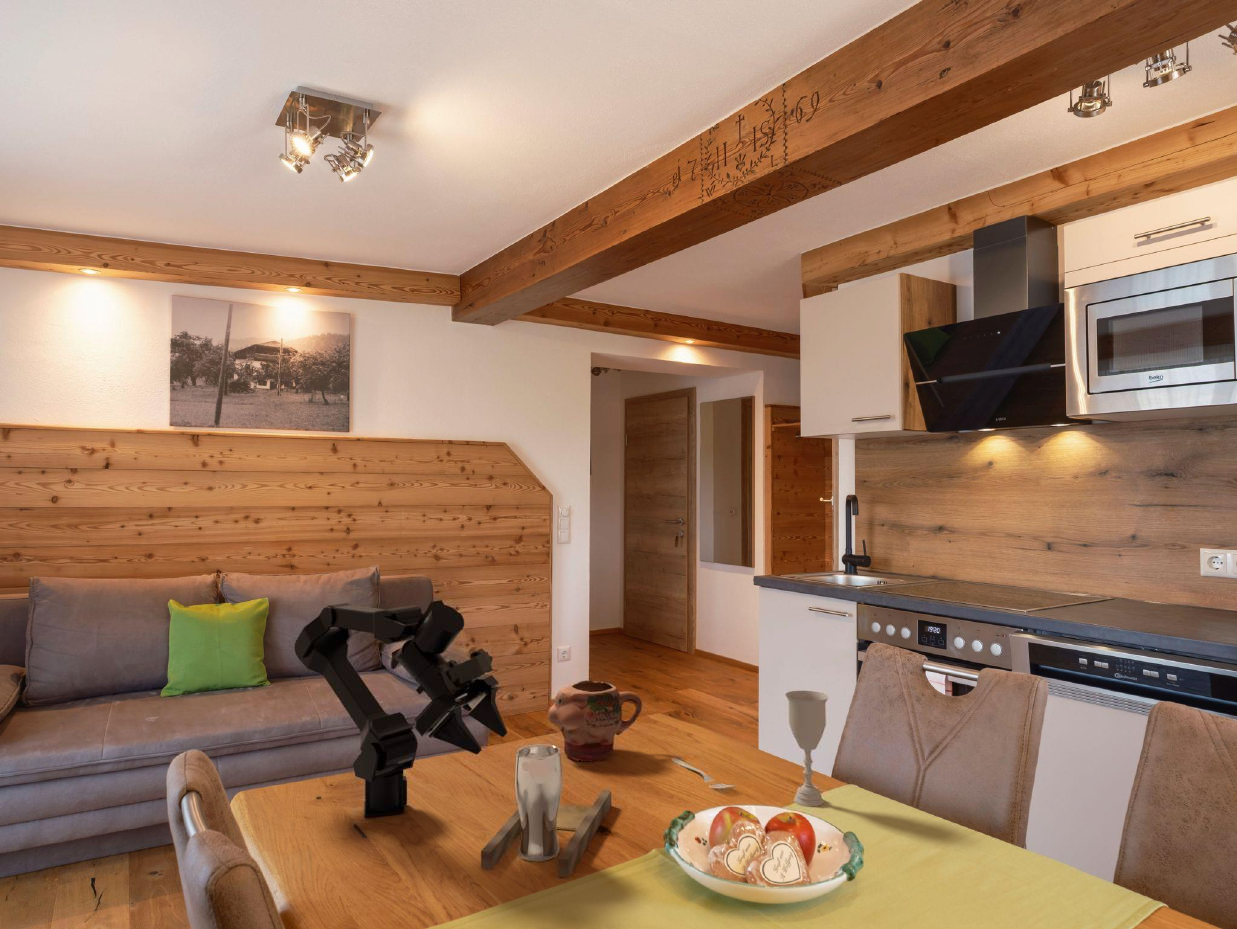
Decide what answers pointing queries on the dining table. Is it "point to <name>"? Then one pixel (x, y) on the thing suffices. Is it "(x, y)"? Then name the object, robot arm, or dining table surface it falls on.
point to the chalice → (807, 736)
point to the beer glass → (538, 800)
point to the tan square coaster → (571, 816)
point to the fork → (706, 778)
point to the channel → (570, 852)
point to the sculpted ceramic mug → (591, 718)
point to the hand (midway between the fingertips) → (492, 743)
